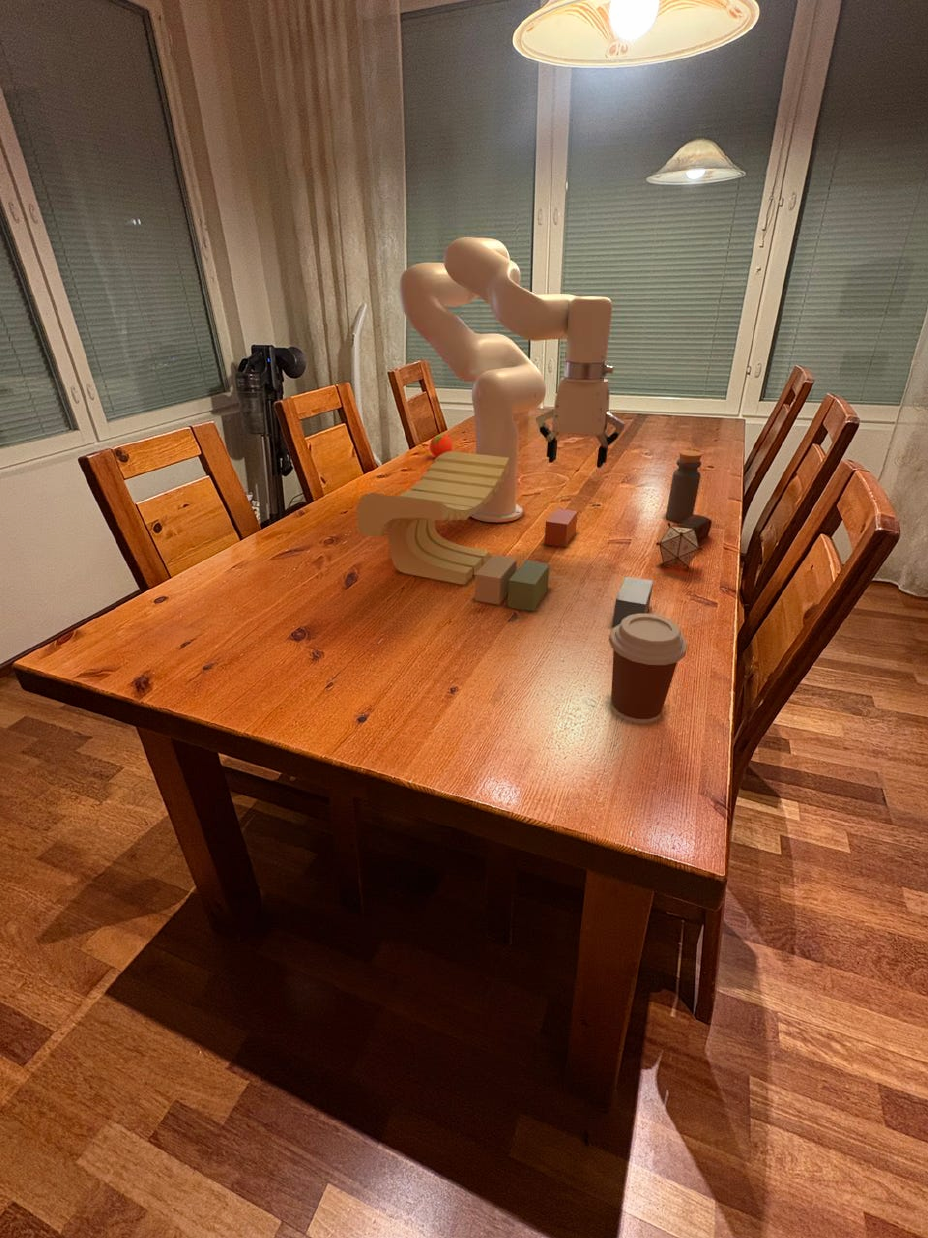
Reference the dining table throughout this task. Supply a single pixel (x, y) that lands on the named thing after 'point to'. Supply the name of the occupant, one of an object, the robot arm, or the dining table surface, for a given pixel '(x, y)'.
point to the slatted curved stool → (434, 516)
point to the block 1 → (494, 579)
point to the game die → (679, 546)
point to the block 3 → (632, 598)
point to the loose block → (560, 527)
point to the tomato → (440, 445)
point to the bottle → (684, 487)
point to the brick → (698, 526)
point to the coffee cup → (644, 665)
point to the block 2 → (528, 585)
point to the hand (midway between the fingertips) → (575, 463)
